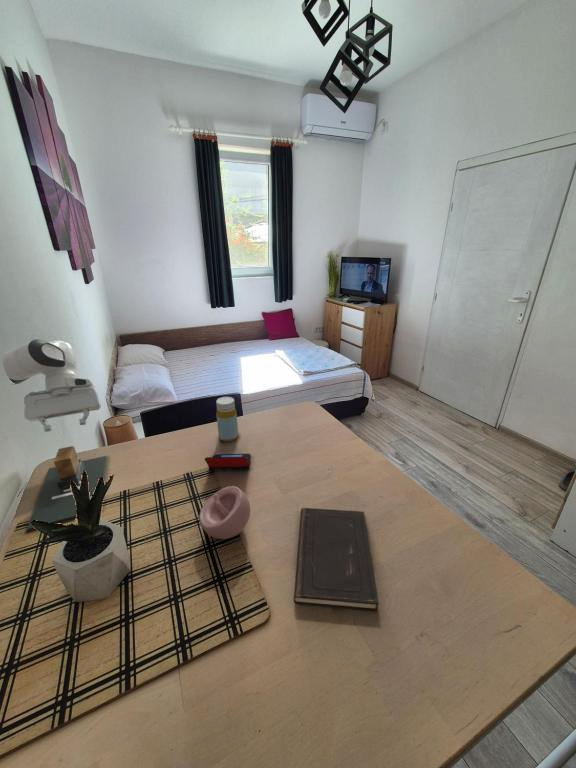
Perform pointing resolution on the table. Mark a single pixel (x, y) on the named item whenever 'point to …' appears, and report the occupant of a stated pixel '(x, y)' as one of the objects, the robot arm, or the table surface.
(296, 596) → the hardcover book
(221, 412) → the bottle
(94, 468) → the slate board
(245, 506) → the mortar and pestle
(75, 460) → the tan rectangular block
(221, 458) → the handheld console
